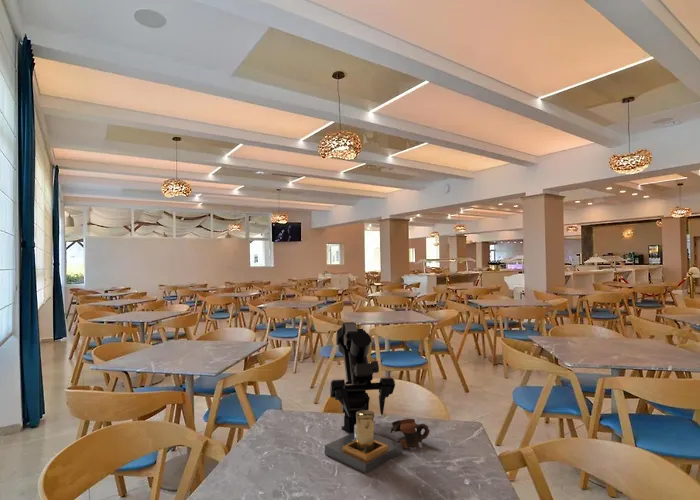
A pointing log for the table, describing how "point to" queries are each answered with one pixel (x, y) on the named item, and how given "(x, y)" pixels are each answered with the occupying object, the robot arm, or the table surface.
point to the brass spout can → (365, 431)
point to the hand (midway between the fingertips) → (366, 415)
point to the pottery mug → (410, 432)
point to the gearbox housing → (363, 462)
